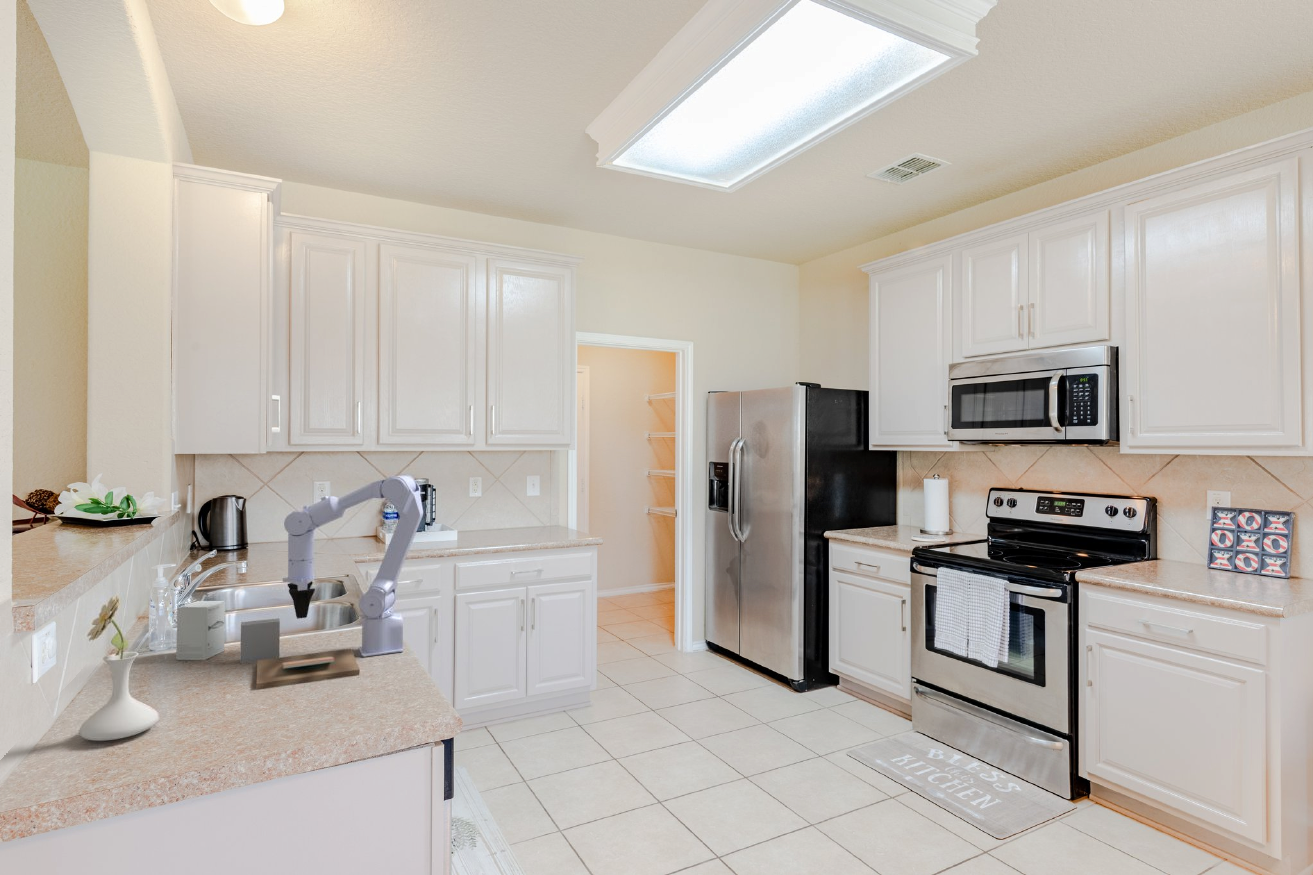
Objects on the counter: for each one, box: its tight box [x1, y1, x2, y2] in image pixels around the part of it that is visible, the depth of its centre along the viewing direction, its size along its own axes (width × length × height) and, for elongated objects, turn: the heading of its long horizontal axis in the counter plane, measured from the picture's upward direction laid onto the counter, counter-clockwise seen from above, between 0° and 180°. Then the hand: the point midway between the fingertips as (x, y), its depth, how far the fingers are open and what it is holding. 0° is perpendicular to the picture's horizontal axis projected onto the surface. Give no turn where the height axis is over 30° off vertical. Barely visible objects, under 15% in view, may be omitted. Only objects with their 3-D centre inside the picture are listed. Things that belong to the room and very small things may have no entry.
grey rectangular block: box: [240, 617, 281, 665], centre depth 168 cm, size 8×4×9 cm, turn 119°
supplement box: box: [175, 600, 226, 661], centre depth 171 cm, size 7×7×13 cm
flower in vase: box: [78, 595, 160, 742], centre depth 124 cm, size 13×11×25 cm
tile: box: [283, 657, 334, 669], centre depth 158 cm, size 10×8×1 cm
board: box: [256, 648, 361, 690], centre depth 160 cm, size 20×18×1 cm
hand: (300, 614), depth 174 cm, fingers open, 7 cm apart
